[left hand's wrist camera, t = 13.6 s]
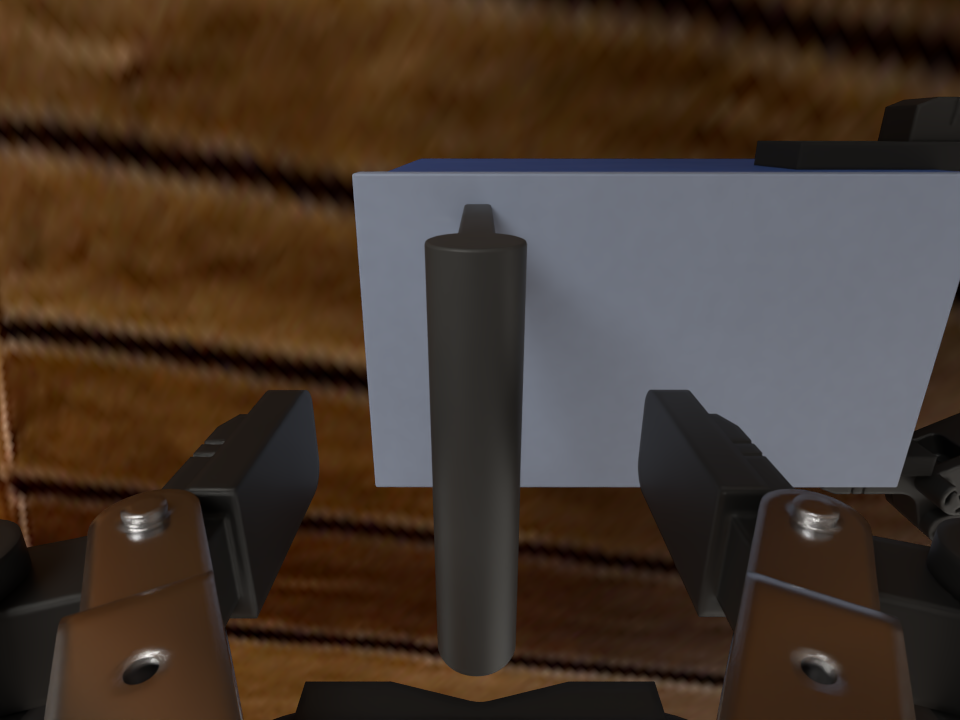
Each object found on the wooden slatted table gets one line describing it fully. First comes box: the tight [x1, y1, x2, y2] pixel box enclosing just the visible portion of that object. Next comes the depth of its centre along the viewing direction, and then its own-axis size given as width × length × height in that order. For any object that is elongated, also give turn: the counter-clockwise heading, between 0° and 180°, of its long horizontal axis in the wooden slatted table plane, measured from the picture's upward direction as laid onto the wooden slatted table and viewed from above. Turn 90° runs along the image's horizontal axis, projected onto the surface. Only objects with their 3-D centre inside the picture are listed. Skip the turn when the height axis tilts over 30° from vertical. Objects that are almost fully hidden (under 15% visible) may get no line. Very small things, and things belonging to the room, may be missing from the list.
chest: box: [388, 159, 959, 172], centre depth 21 cm, size 15×9×9 cm, turn 90°
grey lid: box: [352, 172, 960, 676], centre depth 13 cm, size 16×9×8 cm, turn 90°
